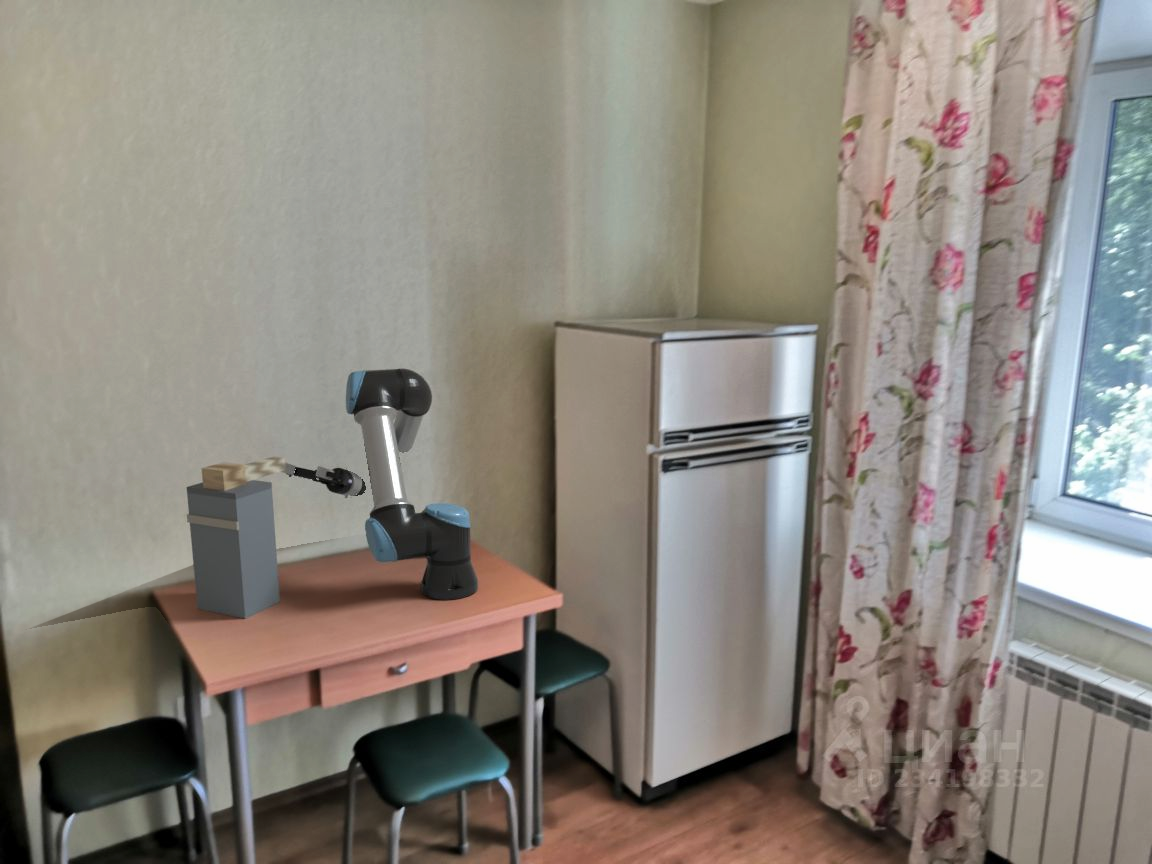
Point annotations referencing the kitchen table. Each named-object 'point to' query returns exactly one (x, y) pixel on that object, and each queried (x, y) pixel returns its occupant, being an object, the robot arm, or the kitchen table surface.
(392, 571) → the kitchen table surface
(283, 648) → the kitchen table surface
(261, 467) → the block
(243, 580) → the lidded box
